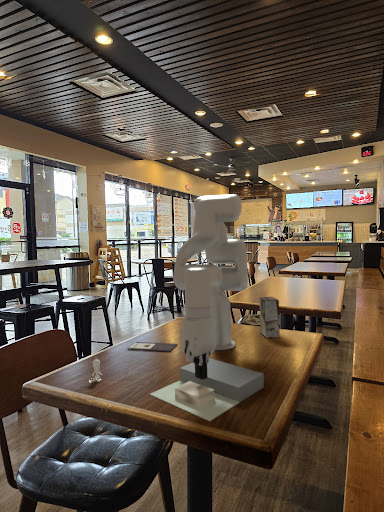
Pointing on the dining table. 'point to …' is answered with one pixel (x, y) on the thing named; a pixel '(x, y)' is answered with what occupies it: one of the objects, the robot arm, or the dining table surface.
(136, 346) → the chocolate bar
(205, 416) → the sage mat
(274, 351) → the dining table surface
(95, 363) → the toy figurine
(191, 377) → the slate deck
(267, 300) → the coffee box
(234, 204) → the robot arm
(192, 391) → the cream tile
